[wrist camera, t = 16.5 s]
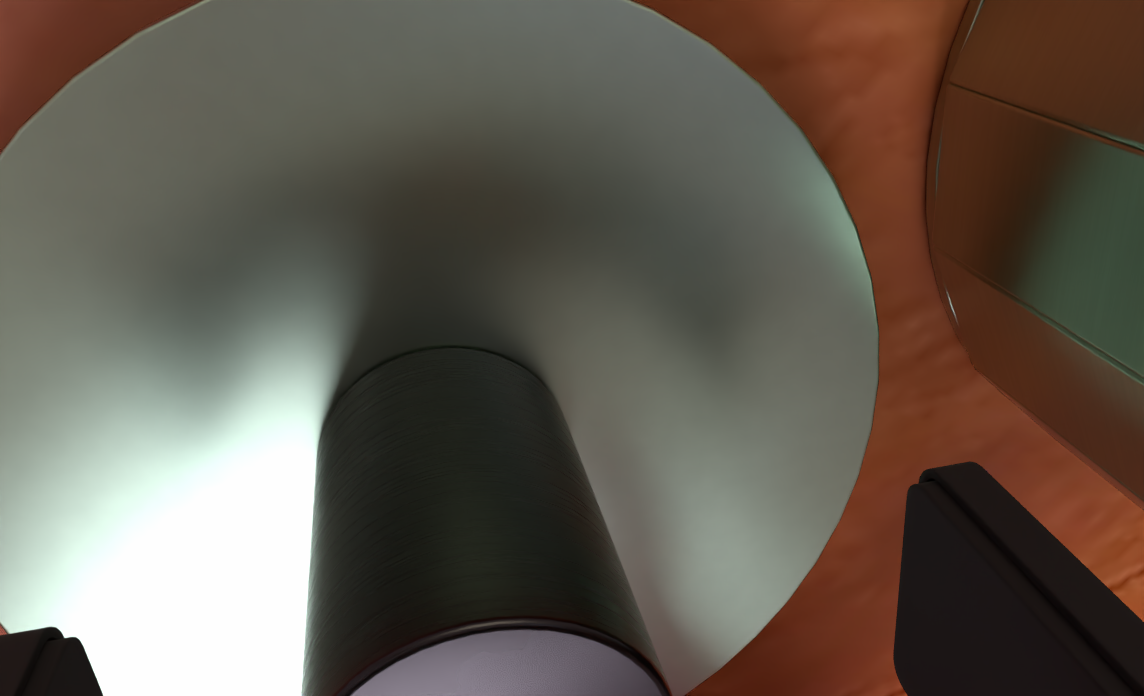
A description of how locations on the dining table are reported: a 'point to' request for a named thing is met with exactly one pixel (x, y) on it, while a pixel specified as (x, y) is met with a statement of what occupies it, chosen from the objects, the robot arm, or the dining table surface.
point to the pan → (1048, 217)
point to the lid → (421, 353)
